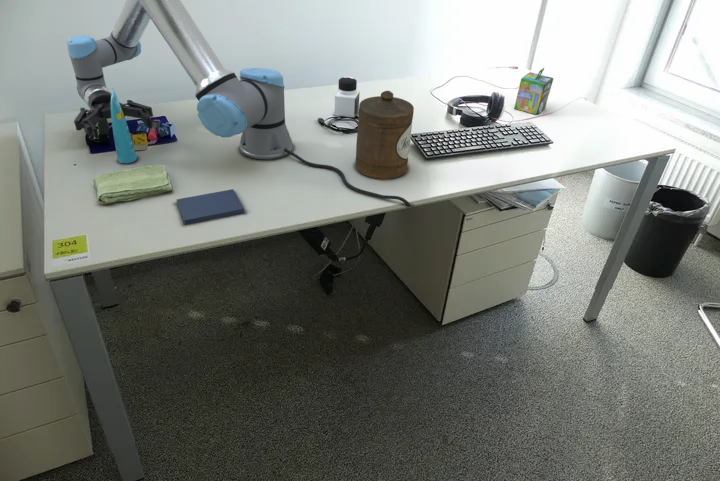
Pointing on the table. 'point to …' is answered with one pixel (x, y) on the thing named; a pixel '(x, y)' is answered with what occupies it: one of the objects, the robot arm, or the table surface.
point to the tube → (121, 133)
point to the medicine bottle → (347, 98)
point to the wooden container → (383, 136)
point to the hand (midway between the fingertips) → (123, 128)
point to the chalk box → (533, 93)
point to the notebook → (209, 206)
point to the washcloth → (131, 184)
